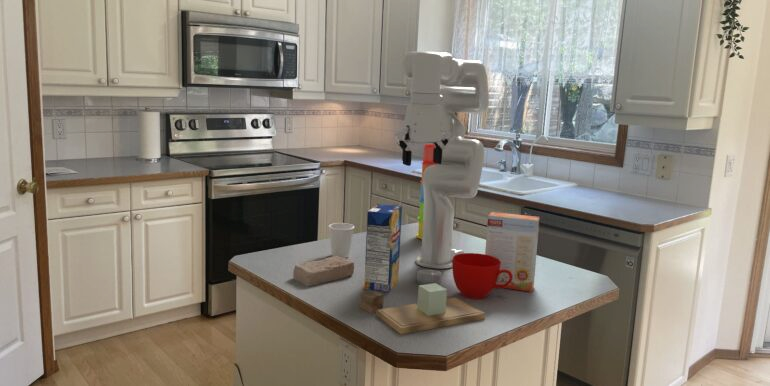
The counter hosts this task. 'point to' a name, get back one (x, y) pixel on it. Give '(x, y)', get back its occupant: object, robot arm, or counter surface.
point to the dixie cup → (341, 239)
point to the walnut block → (371, 301)
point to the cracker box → (513, 247)
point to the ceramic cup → (477, 274)
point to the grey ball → (429, 277)
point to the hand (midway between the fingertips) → (422, 164)
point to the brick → (323, 270)
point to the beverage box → (382, 247)
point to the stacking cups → (426, 163)
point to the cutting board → (416, 320)
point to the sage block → (432, 299)
